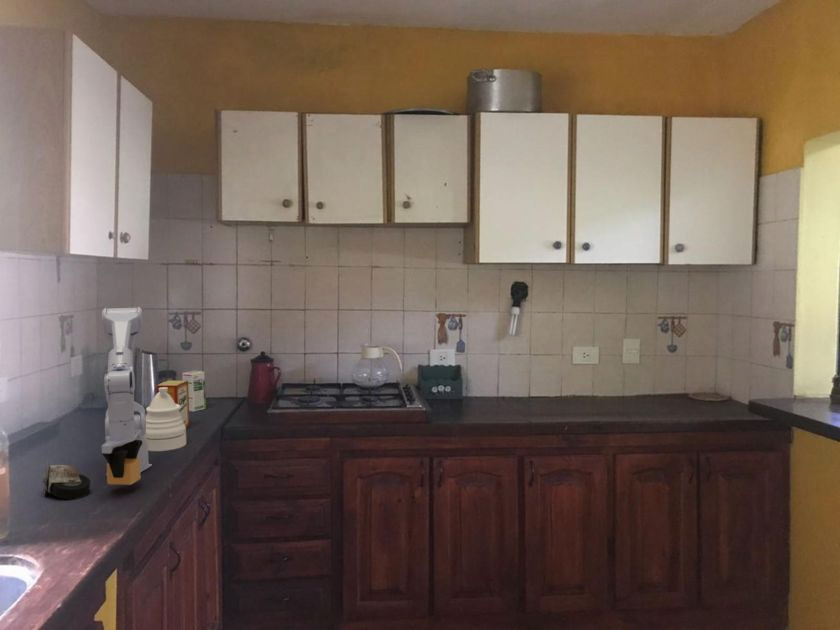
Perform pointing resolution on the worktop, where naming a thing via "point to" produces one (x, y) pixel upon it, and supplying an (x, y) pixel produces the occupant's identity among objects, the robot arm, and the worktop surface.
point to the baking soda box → (179, 396)
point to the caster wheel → (65, 481)
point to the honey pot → (164, 423)
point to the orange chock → (126, 473)
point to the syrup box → (196, 390)
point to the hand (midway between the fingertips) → (123, 473)
